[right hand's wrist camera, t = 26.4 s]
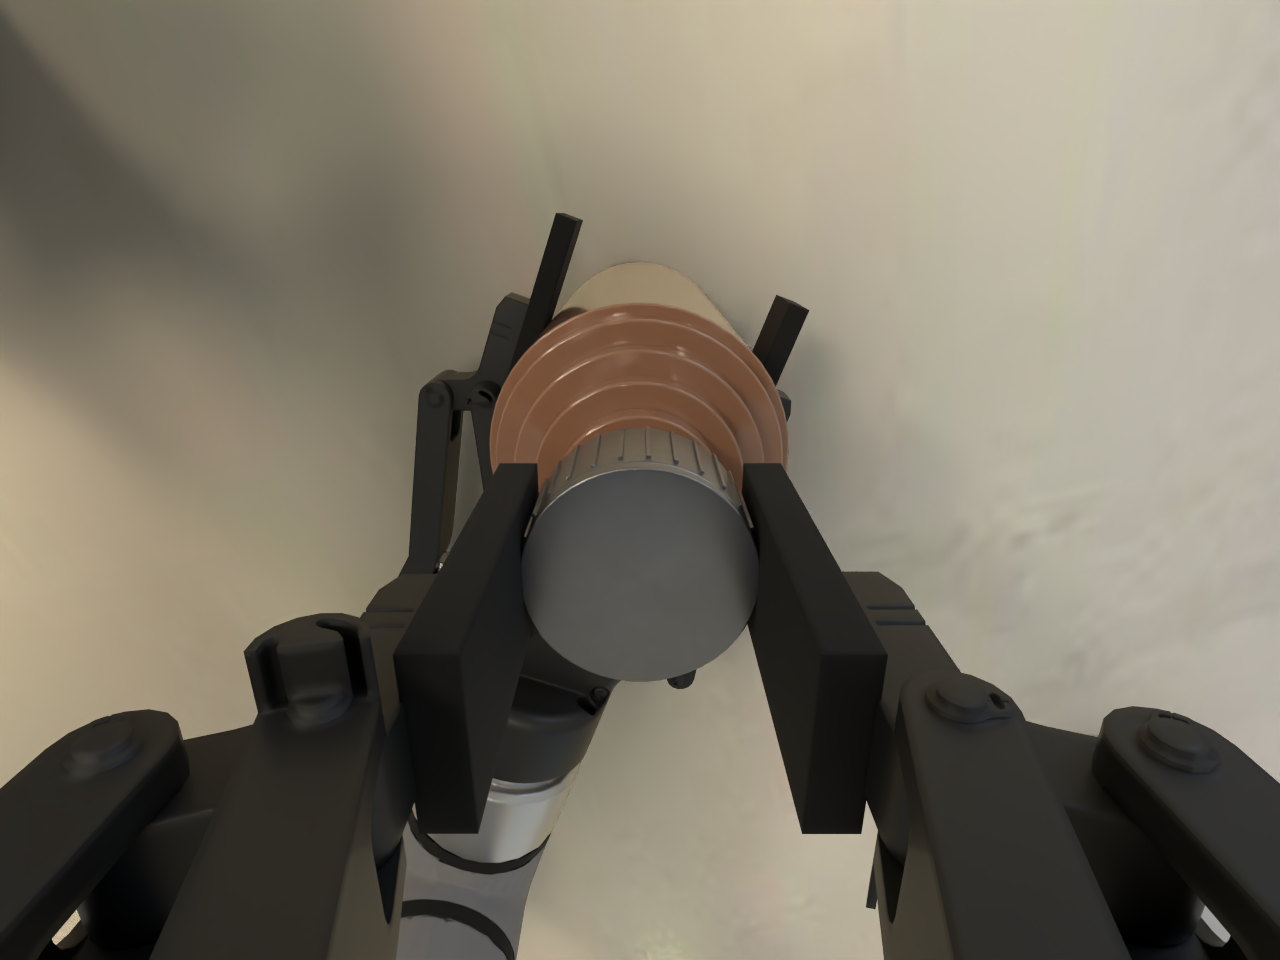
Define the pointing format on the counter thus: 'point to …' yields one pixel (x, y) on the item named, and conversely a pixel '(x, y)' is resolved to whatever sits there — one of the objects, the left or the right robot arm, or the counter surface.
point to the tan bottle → (638, 376)
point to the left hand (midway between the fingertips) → (683, 261)
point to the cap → (640, 556)
